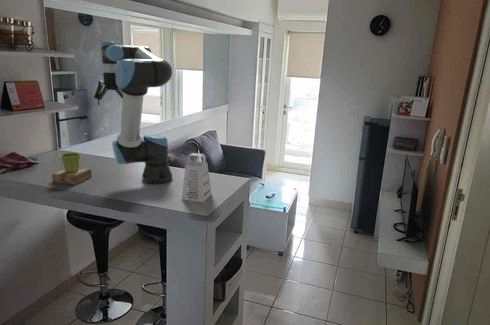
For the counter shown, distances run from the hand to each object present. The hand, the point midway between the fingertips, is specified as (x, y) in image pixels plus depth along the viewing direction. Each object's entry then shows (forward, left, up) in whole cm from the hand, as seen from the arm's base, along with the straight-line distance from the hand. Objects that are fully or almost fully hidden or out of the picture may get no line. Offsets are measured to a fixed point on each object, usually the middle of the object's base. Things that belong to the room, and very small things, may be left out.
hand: (113, 112), depth 202 cm
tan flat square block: (+11, +24, -32) cm, 41 cm away
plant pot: (+11, +24, -28) cm, 38 cm away
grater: (-58, +30, -32) cm, 73 cm away
